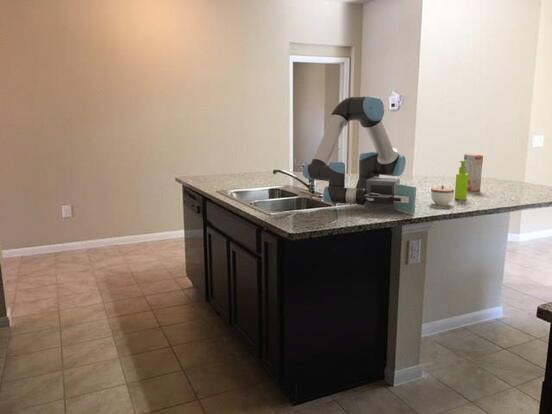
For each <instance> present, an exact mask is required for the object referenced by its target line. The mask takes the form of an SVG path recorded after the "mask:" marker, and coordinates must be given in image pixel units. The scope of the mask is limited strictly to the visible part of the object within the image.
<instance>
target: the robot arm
mask: <svg viewBox="0 0 552 414" xmlns="http://www.w3.org/2000/svg"><path fill="white" fill-rule="evenodd" d="M384 115H385V105H384V102H383V100H382V99H381V98H380V97H378V96H371V95H368V96H349V97H346V98H345V99H343V100H341V101H340V102H339V103H338V104H337V105H336V106H335V108H333V111H332V112H331V114H330V116H329V123H328V125H327V127H326V129H325V131H324V133H323V136H322V139H321V140H320V142H319V145H318V147H317V149H316V151H315V154H314V156H313V158H312V160H311V162H310V163H306V164H305V165H303V168H302V175H303V178H305V179H307V180H311V181H322V182H323V181H324V182H328V186H326V187H324V189H323V194H322V195H323V200H324V202H326V203H332V204H347V205H349V206H352V205H358V206H364V205H366V201H368V202H387V203H391V202H392V204H393V201H394V202H400V203H409V196H395V194H393V195H390V194H379V193H369V194H367V193H366V180H368V179H370V178H371V177H373V178H374V177H379V178H380V176H389V177H400V176H402V175H403V173H404V172H405V168H406V164H407V163H406V162H407V161H406V157H405V155H403V154H399V152H398V150H397V149H396V148H394V147H393V145H392V143H391V141H390V138H389V136H388V133H387V131H386V128H385V126H384V123H383V122H382V120H383V118H384ZM351 121H358V122H359V123H360V126H361V127H362V128H365V130H366V132H367V134H368V136H369V138H370V141H371V143H372V145H373V146H374V149H375V151H370V152H369V151H368V152H362V153H360V154H359V159H358V179H357V183H356V185H355V187H346V185H345V183H346V164H345V162H343V161H331V162H329V161H330V159H331V157H332V154H333V152H334V150H335V148H336V146H337V143H338V140H339V139H340V137H341V134H342V132H343V130H344V128H345V127H347V126H348V123H349V122H351Z"/></svg>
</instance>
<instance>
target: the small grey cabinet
mask: <svg viewBox="0 0 552 414" xmlns="http://www.w3.org/2000/svg"><path fill="white" fill-rule="evenodd" d="M400 181H401V179H400V178H393V177H392V178H391V177H380V176H379V177H374V178H373V177H371V178H370V179H368V180H366V193H367V194H369V193H379V194H390V195H393V194H394V183H397V184H401V183H400ZM393 205H394V201H393V204H392V202H391V203H387V202H368V201H366V203H365V208H375V209H377V208H378V209H388V210H389V209H391V210H394V209H393Z"/></svg>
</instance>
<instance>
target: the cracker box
mask: <svg viewBox="0 0 552 414" xmlns="http://www.w3.org/2000/svg"><path fill="white" fill-rule="evenodd" d="M483 159H484V156H483V155H482V154H481V155H480V154H475V153H464V155H463V161H469V162H471V163H468V162H465V167H466V174H468V184H467V191H470V192H481V183H482V170H483V163H484V160H483Z"/></svg>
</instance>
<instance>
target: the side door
mask: <svg viewBox="0 0 552 414" xmlns="http://www.w3.org/2000/svg"><path fill="white" fill-rule="evenodd" d="M394 194H395V196H409V203H400V202H394V205H393V209H392V210H397V211H401V212H404V213H409V214H413V215H414V214H416V196H417V187H416V186H412V185H407V184H402V183H400V184H397V183H394Z"/></svg>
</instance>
